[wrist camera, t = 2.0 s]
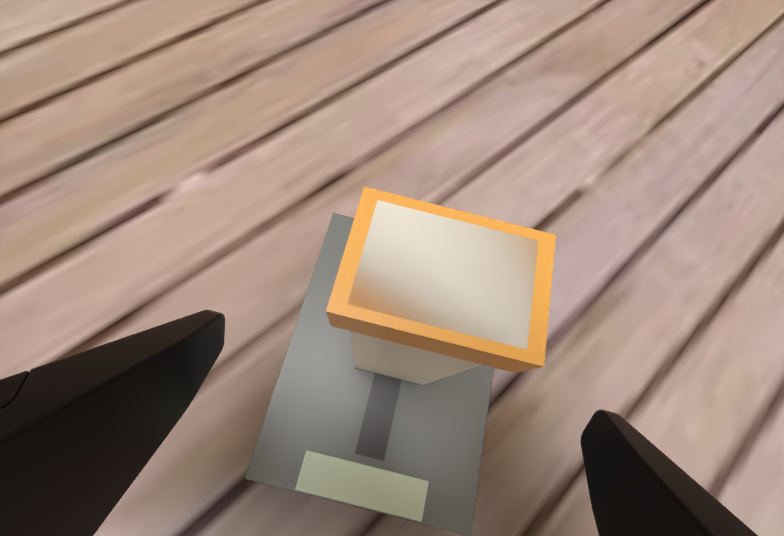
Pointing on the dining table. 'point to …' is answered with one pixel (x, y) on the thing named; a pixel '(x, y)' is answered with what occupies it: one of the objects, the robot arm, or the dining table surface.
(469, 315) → the lever
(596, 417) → the robot arm
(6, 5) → the dining table surface
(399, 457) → the switch plate
